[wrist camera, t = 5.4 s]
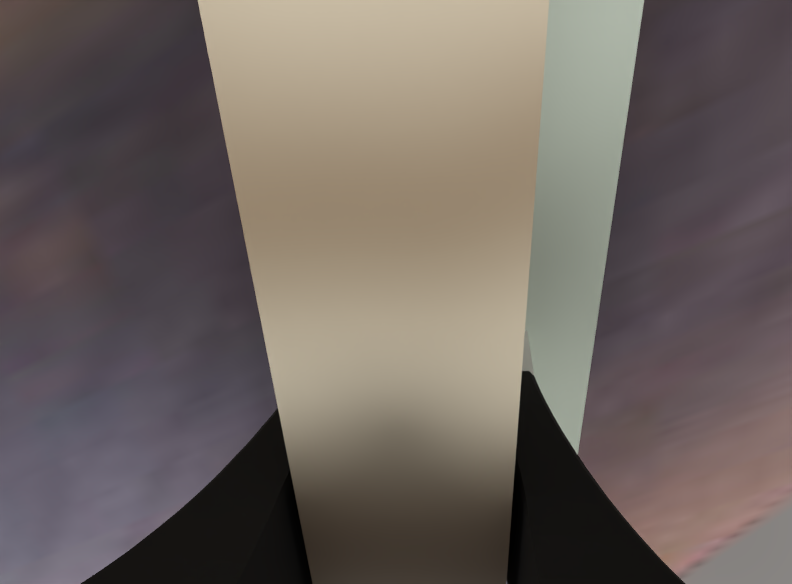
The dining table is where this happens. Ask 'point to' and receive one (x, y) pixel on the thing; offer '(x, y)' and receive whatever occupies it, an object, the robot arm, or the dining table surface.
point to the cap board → (576, 191)
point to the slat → (389, 263)
